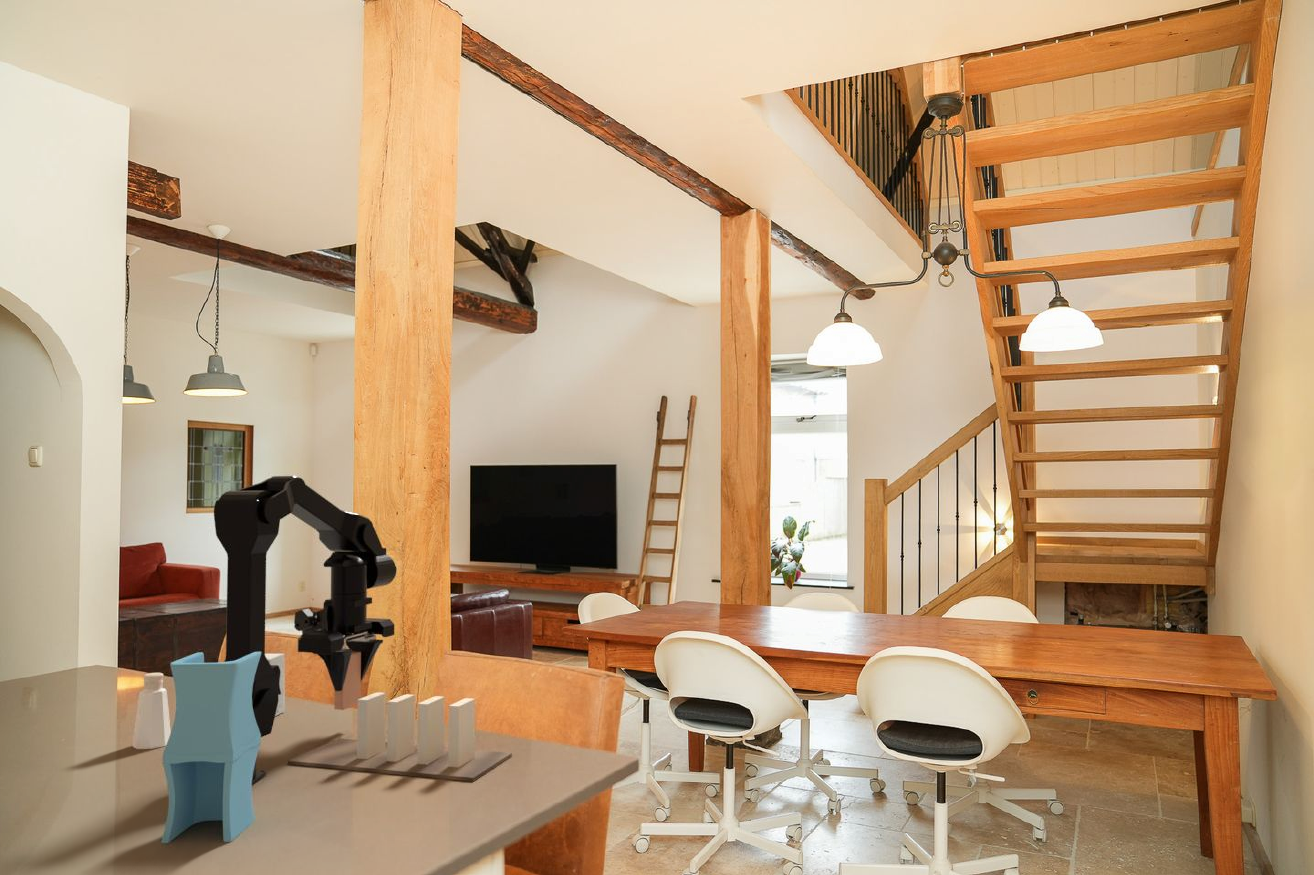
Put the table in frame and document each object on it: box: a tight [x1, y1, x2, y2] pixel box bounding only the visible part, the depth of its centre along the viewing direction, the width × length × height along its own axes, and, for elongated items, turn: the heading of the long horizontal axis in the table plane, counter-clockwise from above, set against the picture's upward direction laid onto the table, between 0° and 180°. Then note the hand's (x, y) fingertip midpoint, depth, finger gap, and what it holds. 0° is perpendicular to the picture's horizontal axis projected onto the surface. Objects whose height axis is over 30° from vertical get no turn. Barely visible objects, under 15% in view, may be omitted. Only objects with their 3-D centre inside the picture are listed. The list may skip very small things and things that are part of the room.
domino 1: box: [356, 691, 387, 759], centre depth 135 cm, size 2×5×8 cm, turn 164°
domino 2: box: [386, 693, 416, 762], centre depth 133 cm, size 2×5×8 cm, turn 164°
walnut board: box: [287, 737, 513, 782], centre depth 133 cm, size 30×12×1 cm, turn 73°
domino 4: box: [448, 697, 476, 767], centre depth 130 cm, size 2×5×8 cm, turn 163°
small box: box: [265, 653, 286, 717], centre depth 160 cm, size 8×6×10 cm
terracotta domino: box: [334, 652, 362, 711], centre depth 150 cm, size 2×5×8 cm, turn 164°
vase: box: [160, 652, 262, 844], centre depth 107 cm, size 8×8×20 cm
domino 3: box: [417, 695, 446, 765], centre depth 132 cm, size 2×5×8 cm, turn 163°
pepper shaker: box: [131, 672, 172, 750], centre depth 142 cm, size 5×5×11 cm
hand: (347, 687), depth 150 cm, fingers closed on terracotta domino, 5 cm apart
